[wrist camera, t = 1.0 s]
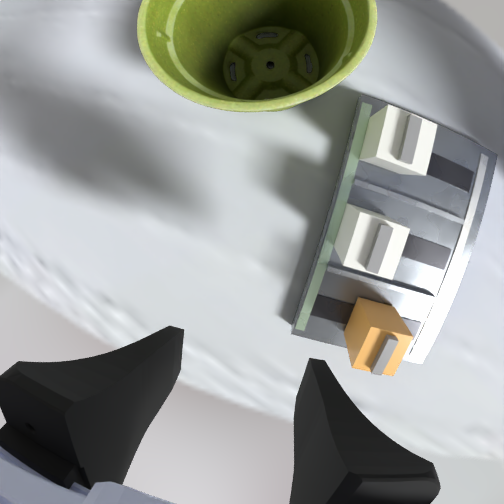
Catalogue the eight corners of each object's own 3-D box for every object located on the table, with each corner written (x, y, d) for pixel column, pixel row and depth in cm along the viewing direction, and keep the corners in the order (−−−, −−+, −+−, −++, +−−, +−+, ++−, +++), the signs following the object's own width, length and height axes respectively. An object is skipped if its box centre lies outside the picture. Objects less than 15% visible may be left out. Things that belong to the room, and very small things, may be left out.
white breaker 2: (387, 216, 17) (413, 230, 13) (374, 258, 18) (395, 283, 14) (346, 202, 18) (362, 213, 13) (333, 245, 18) (344, 268, 14)
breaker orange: (394, 306, 19) (416, 341, 14) (378, 341, 19) (395, 381, 15) (358, 296, 19) (373, 331, 15) (343, 332, 20) (353, 373, 15)
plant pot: (191, 21, 17) (136, -44, 9) (330, 1, 16) (344, -79, 7) (206, 147, 19) (143, 134, 11) (357, 129, 18) (401, 100, 9)
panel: (488, 154, 16) (502, 154, 15) (416, 355, 21) (424, 368, 19) (358, 98, 17) (364, 91, 15) (291, 325, 21) (290, 338, 20)
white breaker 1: (410, 132, 16) (441, 123, 12) (400, 174, 17) (429, 176, 12) (369, 117, 16) (391, 102, 12) (359, 159, 17) (378, 156, 13)
